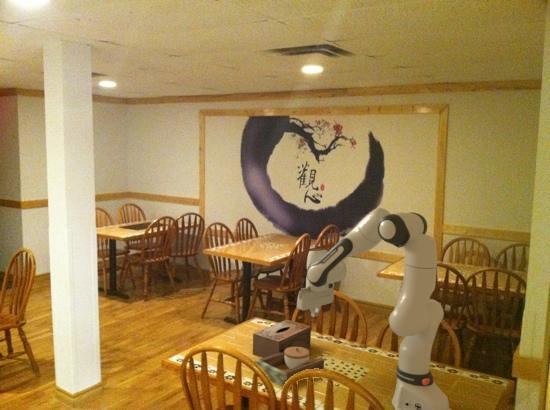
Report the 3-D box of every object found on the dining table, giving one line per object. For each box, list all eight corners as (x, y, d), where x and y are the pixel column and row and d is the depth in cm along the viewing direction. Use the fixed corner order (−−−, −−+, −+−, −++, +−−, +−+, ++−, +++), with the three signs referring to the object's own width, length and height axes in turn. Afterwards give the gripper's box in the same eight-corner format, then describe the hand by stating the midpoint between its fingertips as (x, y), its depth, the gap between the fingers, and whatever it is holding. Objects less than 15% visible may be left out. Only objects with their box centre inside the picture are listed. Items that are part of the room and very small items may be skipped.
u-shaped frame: (323, 370, 210) (324, 359, 209) (282, 387, 194) (283, 374, 193) (295, 357, 222) (295, 346, 222) (254, 372, 206) (255, 360, 205)
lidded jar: (280, 365, 214) (280, 344, 213) (302, 362, 218) (303, 341, 217) (289, 375, 204) (290, 353, 203) (313, 372, 208) (313, 351, 207)
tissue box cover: (285, 339, 245) (286, 319, 244) (310, 346, 236) (311, 326, 235) (252, 354, 225) (253, 333, 224) (277, 363, 216) (278, 341, 215)
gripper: (304, 290, 205) (303, 323, 206) (336, 283, 219) (335, 313, 220) (294, 287, 210) (292, 319, 211) (326, 280, 223) (324, 310, 225)
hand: (314, 316), depth 216 cm, fingers closed
